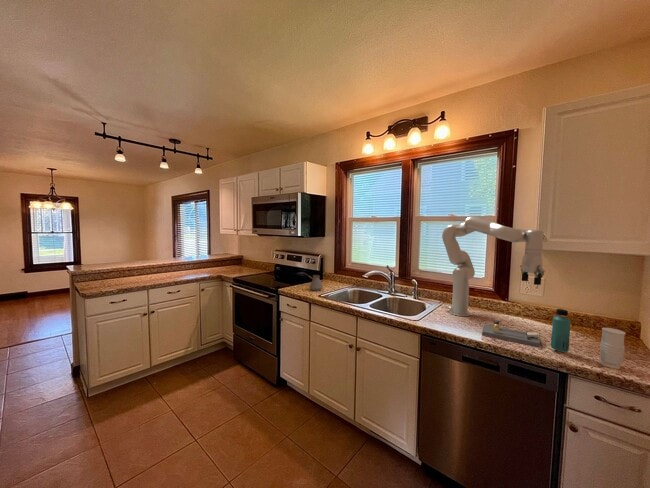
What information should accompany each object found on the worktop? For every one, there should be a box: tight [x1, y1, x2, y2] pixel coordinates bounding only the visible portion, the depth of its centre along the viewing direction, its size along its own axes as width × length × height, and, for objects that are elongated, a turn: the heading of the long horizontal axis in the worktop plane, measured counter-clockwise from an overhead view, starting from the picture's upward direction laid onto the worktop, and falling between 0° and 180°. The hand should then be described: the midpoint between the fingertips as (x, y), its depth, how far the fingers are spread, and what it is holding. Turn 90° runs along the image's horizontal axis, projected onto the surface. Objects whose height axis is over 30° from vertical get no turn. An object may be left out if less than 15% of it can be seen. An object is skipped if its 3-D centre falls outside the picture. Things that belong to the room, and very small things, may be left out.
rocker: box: [527, 331, 539, 338], centre depth 134 cm, size 4×4×1 cm
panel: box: [481, 324, 541, 348], centre depth 139 cm, size 24×13×3 cm, turn 56°
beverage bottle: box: [550, 308, 572, 353], centre depth 123 cm, size 6×7×20 cm
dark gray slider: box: [493, 319, 500, 326], centre depth 146 cm, size 3×3×4 cm
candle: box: [598, 327, 627, 370], centre depth 111 cm, size 7×7×15 cm
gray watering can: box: [300, 271, 323, 292], centre depth 235 cm, size 21×12×15 cm, turn 62°
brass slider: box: [492, 323, 500, 333], centre depth 140 cm, size 3×3×4 cm
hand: (530, 282), depth 147 cm, fingers open, 9 cm apart
